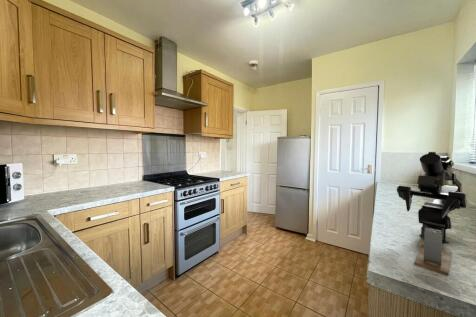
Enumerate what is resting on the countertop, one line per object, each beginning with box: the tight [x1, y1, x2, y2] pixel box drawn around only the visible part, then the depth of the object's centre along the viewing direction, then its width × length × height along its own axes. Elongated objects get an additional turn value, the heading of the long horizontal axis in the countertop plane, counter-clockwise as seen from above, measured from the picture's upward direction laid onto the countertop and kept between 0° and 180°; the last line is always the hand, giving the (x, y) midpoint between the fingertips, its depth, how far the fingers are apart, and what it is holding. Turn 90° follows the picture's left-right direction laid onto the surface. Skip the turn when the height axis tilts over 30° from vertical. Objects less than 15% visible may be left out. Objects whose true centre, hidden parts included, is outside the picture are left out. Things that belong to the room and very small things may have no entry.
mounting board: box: [413, 243, 453, 276], centre depth 66 cm, size 18×8×2 cm, turn 130°
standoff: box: [423, 227, 443, 265], centre depth 64 cm, size 4×4×10 cm
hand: (423, 213), depth 72 cm, fingers open, 9 cm apart
